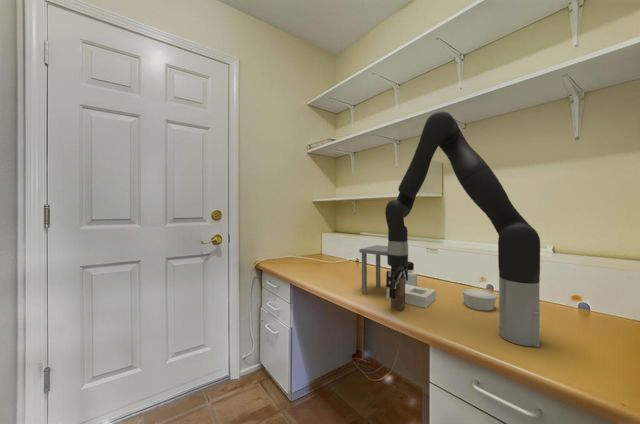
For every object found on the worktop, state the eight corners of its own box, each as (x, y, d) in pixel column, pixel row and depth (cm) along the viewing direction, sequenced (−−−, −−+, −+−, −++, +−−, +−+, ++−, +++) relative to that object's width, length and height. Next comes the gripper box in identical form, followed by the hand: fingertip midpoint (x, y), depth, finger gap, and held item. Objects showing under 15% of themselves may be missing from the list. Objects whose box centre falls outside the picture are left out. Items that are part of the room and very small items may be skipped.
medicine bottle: (417, 288, 120) (417, 263, 120) (402, 288, 120) (401, 263, 120) (411, 284, 127) (411, 260, 127) (397, 284, 127) (397, 260, 127)
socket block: (435, 299, 106) (435, 290, 106) (425, 308, 96) (425, 297, 96) (398, 291, 116) (398, 282, 116) (386, 298, 107) (386, 289, 107)
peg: (405, 308, 97) (405, 276, 96) (400, 311, 94) (400, 279, 93) (395, 305, 99) (395, 275, 99) (390, 308, 96) (390, 277, 96)
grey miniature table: (404, 291, 116) (404, 247, 116) (389, 301, 104) (388, 252, 104) (376, 285, 125) (376, 245, 125) (359, 293, 113) (359, 249, 113)
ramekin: (463, 299, 106) (463, 286, 106) (496, 304, 100) (496, 291, 100) (461, 308, 96) (461, 294, 96) (497, 314, 90) (497, 300, 90)
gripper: (399, 256, 88) (399, 303, 89) (414, 251, 99) (414, 292, 99) (379, 254, 93) (379, 298, 93) (396, 249, 104) (396, 288, 104)
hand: (397, 295), depth 96 cm, fingers open, 8 cm apart
